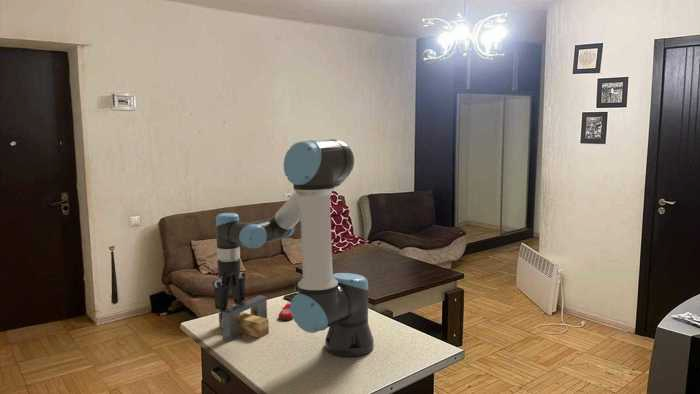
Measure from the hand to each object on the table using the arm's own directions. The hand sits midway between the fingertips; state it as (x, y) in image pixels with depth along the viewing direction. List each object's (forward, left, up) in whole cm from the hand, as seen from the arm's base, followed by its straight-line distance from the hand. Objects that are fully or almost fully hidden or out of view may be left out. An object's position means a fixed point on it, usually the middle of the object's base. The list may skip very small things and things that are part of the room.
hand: (231, 324), depth 179 cm
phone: (-5, -34, -1) cm, 34 cm away
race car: (-10, -20, -1) cm, 22 cm away
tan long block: (-6, 0, -1) cm, 6 cm away
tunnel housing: (-7, 0, -1) cm, 7 cm away
